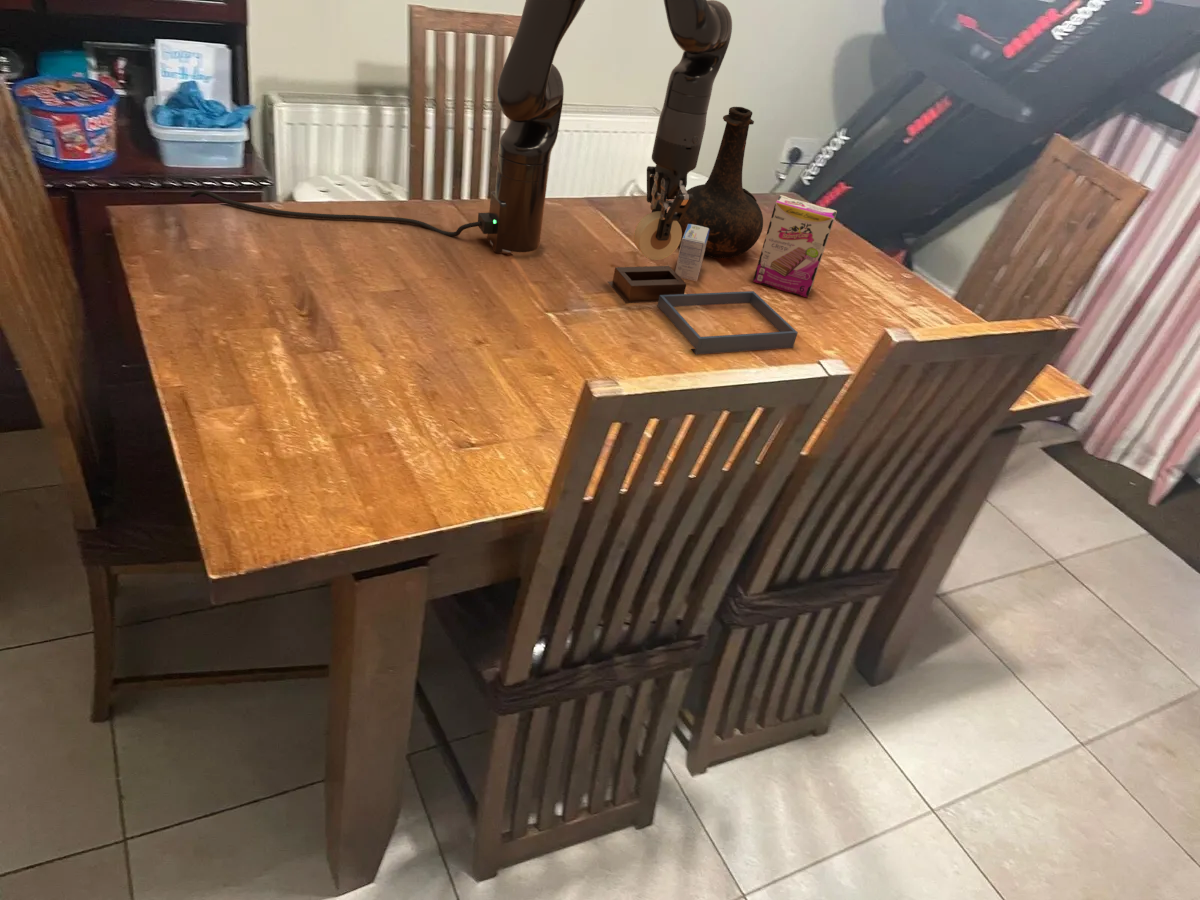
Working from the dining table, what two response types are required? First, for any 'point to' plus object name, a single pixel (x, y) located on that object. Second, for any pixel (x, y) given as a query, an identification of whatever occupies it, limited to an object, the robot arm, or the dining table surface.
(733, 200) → the glass bottle
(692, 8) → the robot arm
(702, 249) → the medicine box
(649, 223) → the tape roll
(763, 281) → the candy bar box
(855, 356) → the dining table surface
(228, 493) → the dining table surface
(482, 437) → the dining table surface
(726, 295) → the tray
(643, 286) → the holder
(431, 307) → the dining table surface
